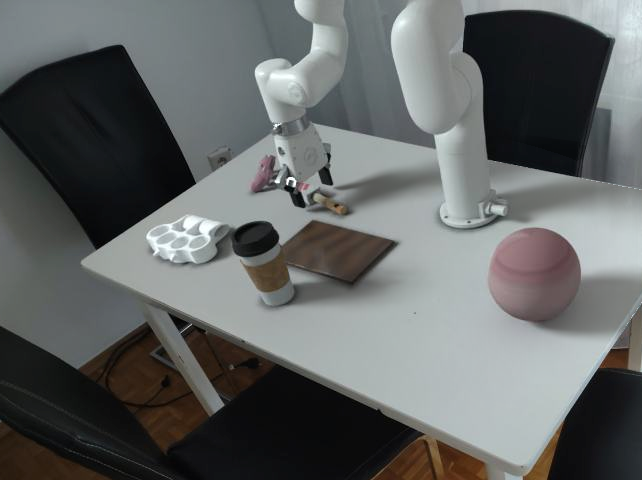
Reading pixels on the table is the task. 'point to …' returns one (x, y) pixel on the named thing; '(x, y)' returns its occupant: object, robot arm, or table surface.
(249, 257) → the coffee cup
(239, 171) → the table surface
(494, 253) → the pink ball
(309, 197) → the white and tan bar
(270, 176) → the video game controller
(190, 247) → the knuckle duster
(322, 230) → the board
